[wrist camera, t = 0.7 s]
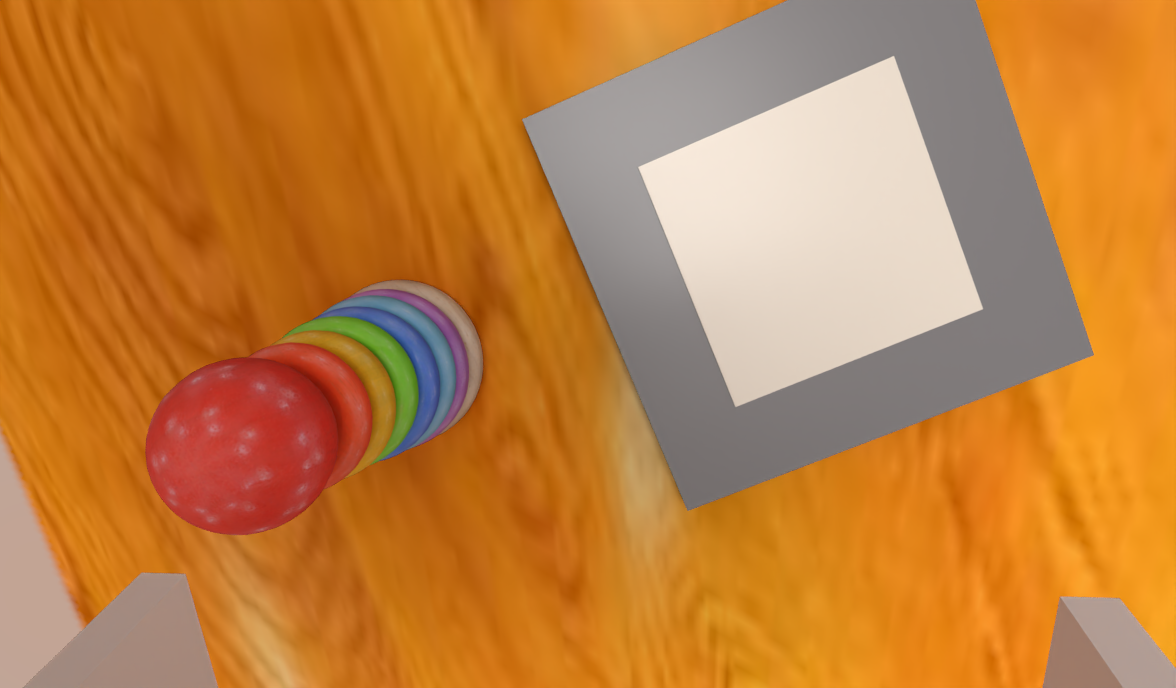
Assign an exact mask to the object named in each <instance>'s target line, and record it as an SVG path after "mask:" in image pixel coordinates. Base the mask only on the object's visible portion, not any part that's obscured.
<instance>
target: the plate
mask: <svg viewBox="0 0 1176 688" xmlns="http://www.w3.org/2000/svg"><path fill="white" fill-rule="evenodd" d="M522 120H523V123H524V125H525V128H526V130H527V132H528V135H529V137H530V139H531V142H532V144H533V146H534V149H535V151H536V154H537V156H538V158H539V161H540V163H541V165H542V168H543V170H544V172H545V175H546V177H547V180H548V182H549V184H550V187H551V189H552V191H553V194H554V196H555V198H556V201H557V203H558V206H559V208H560V210H561V213H562V215H563V217H564V220H565V222H566V224H567V227H568V229H569V232H570V234H571V236H572V239H573V241H574V243H575V246H576V248H577V250H578V253H579V255H580V258H581V260H582V262H583V265H584V267H585V269H586V272H587V274H588V276H589V279H590V281H591V284H592V286H593V288H594V291H595V293H596V295H597V298H598V300H599V302H600V305H601V307H602V310H603V312H604V314H605V317H606V319H607V321H608V324H609V326H610V328H611V331H612V333H613V336H614V338H615V340H616V343H617V345H618V347H619V350H620V352H621V354H622V357H623V359H624V362H625V364H626V366H627V369H628V371H629V373H630V376H631V378H632V380H633V383H634V385H635V388H636V390H637V392H638V395H639V397H640V399H641V402H642V404H643V406H644V409H645V411H646V414H647V416H648V418H649V421H650V423H651V425H652V428H653V430H654V432H655V435H656V437H657V440H658V442H659V444H660V447H661V449H662V451H663V454H664V456H665V458H666V461H667V463H668V466H669V468H670V470H671V473H672V475H673V477H674V480H675V482H676V484H677V487H678V489H679V492H680V494H681V496H682V499H683V501H684V503H685V506H686V508H687V510H688V511H689V510H691V509H694V508H697V507H699V506H702V505H704V504H707V503H710V502H712V501H715V500H717V499H720V498H723V497H725V496H728V495H730V494H733V493H736V492H738V491H741V490H743V489H746V488H749V487H751V486H754V485H756V484H759V483H762V482H764V481H767V480H770V479H772V478H775V477H777V476H780V475H783V474H785V473H788V472H790V471H793V470H796V469H798V468H801V467H803V466H806V465H809V464H811V463H814V462H816V461H819V460H822V459H824V458H827V457H829V456H832V455H835V454H837V453H840V452H842V451H845V450H848V449H850V448H853V447H856V446H858V445H861V444H863V443H866V442H869V441H871V440H874V439H876V438H879V437H882V436H884V435H887V434H889V433H892V432H895V431H897V430H900V429H902V428H905V427H908V426H910V425H913V424H915V423H918V422H921V421H923V420H926V419H929V418H931V417H934V416H936V415H939V414H942V413H944V412H947V411H949V410H952V409H955V408H957V407H960V406H962V405H965V404H968V403H970V402H973V401H975V400H978V399H981V398H983V397H986V396H988V395H991V394H994V393H996V392H999V391H1001V390H1004V389H1007V388H1009V387H1012V386H1015V385H1017V384H1020V383H1022V382H1025V381H1028V380H1030V379H1033V378H1035V377H1038V376H1041V375H1043V374H1046V373H1048V372H1051V371H1054V370H1056V369H1059V368H1061V367H1064V366H1067V365H1069V364H1072V363H1074V362H1077V361H1080V360H1082V359H1085V358H1088V357H1090V356H1093V355H1094V354H1093V351H1092V348H1091V345H1090V342H1089V339H1088V336H1087V333H1086V330H1085V327H1084V324H1083V321H1082V318H1081V315H1080V312H1079V309H1078V306H1077V303H1076V300H1075V297H1074V294H1073V291H1072V288H1071V285H1070V282H1069V279H1068V276H1067V273H1066V270H1065V267H1064V264H1063V261H1062V258H1061V255H1060V252H1059V249H1058V246H1057V243H1056V240H1055V237H1054V234H1053V231H1052V228H1051V225H1050V222H1049V219H1048V216H1047V213H1046V210H1045V207H1044V204H1043V201H1042V198H1041V195H1040V192H1039V189H1038V186H1037V183H1036V180H1035V177H1034V174H1033V171H1032V168H1031V165H1030V162H1029V159H1028V156H1027V153H1026V151H1025V148H1024V145H1023V142H1022V139H1021V136H1020V133H1019V130H1018V127H1017V124H1016V121H1015V118H1014V115H1013V112H1012V109H1011V106H1010V103H1009V100H1008V97H1007V94H1006V91H1005V88H1004V85H1003V82H1002V79H1001V76H1000V73H999V70H998V67H997V64H996V61H995V58H994V55H993V52H992V49H991V46H990V43H989V40H988V37H987V34H986V31H985V28H984V25H983V22H982V19H981V16H980V13H979V10H978V7H977V4H976V1H975V0H787V1H785V2H783V3H781V4H779V5H776V6H774V7H772V8H770V9H767V10H765V11H763V12H761V13H758V14H756V15H754V16H752V17H750V18H747V19H745V20H743V21H741V22H738V23H736V24H734V25H732V26H729V27H727V28H725V29H723V30H721V31H718V32H716V33H714V34H712V35H709V36H707V37H705V38H703V39H701V40H698V41H696V42H694V43H692V44H689V45H687V46H685V47H683V48H680V49H678V50H676V51H674V52H672V53H669V54H667V55H665V56H663V57H660V58H658V59H656V60H654V61H651V62H649V63H647V64H645V65H643V66H640V67H638V68H636V69H634V70H631V71H629V72H627V73H625V74H623V75H620V76H618V77H616V78H614V79H611V80H609V81H607V82H605V83H602V84H600V85H598V86H596V87H594V88H591V89H589V90H587V91H585V92H582V93H580V94H578V95H576V96H573V97H571V98H569V99H567V100H565V101H562V102H560V103H558V104H556V105H553V106H551V107H549V108H547V109H544V110H542V111H540V112H538V113H536V114H533V115H531V116H529V117H527V118H524V119H522Z"/></svg>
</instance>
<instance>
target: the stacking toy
mask: <svg viewBox="0 0 1176 688" xmlns="http://www.w3.org/2000/svg"><path fill="white" fill-rule="evenodd" d="M482 374H483V353H482V347H481V343H480V340H479V336H478V334H477V331H476V329H475V327H474V325H473V323H472V321H471V320H470V318H469V317H468V315H467V314H466V312H465V311H464V310H463V309H462V307H461V306H460V305H459V304H458V303H456V302H455V301H454V300H453V299H452V298H451V297H449V296H448V295H447V294H445V293H444V292H442V291H440V290H439V289H436V288H434V287H432V286H430V285H427V284H424V283H420V282H416V281H411V280H390V281H383V282H379V283H376V284H372V285H370V286H367V287H365V288H363V289H361V290H359V291H358V292H356V293H354V294H353V295H352V296H350V297H349V298H347V299H345V300H343V301H341V302H339V303H337V304H335V305H334V306H332V307H330V308H329V309H327V310H326V311H325V312H323V313H322V314H321V315H320V316H318V317H316V318H314V319H313V320H311V321H309V322H306V323H304V324H302V325H300V326H298V327H296V328H294V329H293V330H291V331H290V332H289V333H287V334H286V335H285V336H284V337H283V338H282V339H280V340H278V341H277V342H275V343H273V344H272V345H270V346H269V347H266V348H263V349H261V350H259V351H257V352H255V353H254V354H252V355H250V356H249V357H247V358H246V357H245V358H233V359H228V360H223V361H219V362H216V363H212V364H209V365H206V366H204V367H202V368H200V369H198V370H196V371H194V372H193V373H191V374H190V375H188V376H187V377H185V378H184V379H183V380H181V381H180V382H179V383H178V384H177V385H176V386H175V387H174V388H173V389H172V390H170V391H169V392H168V393H167V394H166V396H165V397H164V398H163V400H162V401H161V403H160V404H159V406H158V408H157V410H156V411H155V413H154V415H153V418H152V421H151V423H150V426H149V429H148V434H147V438H146V452H145V453H146V461H147V469H148V472H149V475H150V478H151V481H152V483H153V485H154V487H155V489H156V491H157V493H158V494H159V496H160V497H161V499H162V500H163V501H164V502H165V504H166V505H167V506H168V507H169V508H170V509H171V510H172V511H173V512H174V513H175V514H177V515H178V516H179V517H181V518H182V519H183V520H185V521H187V522H188V523H190V524H192V525H194V526H196V527H199V528H201V529H204V530H207V531H211V532H215V533H220V534H229V535H248V534H254V533H259V532H263V531H266V530H270V529H273V528H276V527H278V526H281V525H283V524H284V523H286V522H288V521H290V520H292V519H293V518H295V517H296V516H298V515H299V514H301V513H302V512H303V511H304V510H306V509H307V508H308V507H309V506H310V505H311V504H312V503H313V502H314V501H315V499H316V498H317V497H318V496H319V495H320V493H321V492H322V491H323V489H326V488H328V487H330V486H332V485H334V484H336V483H338V482H339V481H341V480H342V479H344V478H347V477H350V476H352V475H354V474H356V473H358V472H360V471H362V470H363V469H365V468H366V467H367V466H369V465H371V464H374V463H376V462H378V461H381V460H385V459H388V458H391V457H393V456H396V455H398V454H400V453H402V452H404V451H405V450H408V449H410V448H413V447H416V446H419V445H421V444H423V443H425V442H427V441H429V440H431V439H433V438H434V437H436V436H437V435H440V434H442V433H444V432H445V431H447V430H448V429H450V428H451V427H452V426H454V425H455V424H456V423H457V422H458V421H459V420H460V419H461V418H462V417H463V416H464V415H465V414H466V412H467V411H468V410H469V408H470V406H471V405H472V403H473V401H474V400H475V398H476V395H477V393H478V390H479V388H480V384H481V380H482Z"/></svg>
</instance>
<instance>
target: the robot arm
mask: <svg viewBox="0 0 1176 688" xmlns="http://www.w3.org/2000/svg"><path fill="white" fill-rule="evenodd" d="M23 688H218V686H217V682H216V679H215V675H214V672H213V668H212V665H211V661H210V658H209V654H208V651H207V647H206V644H205V640H204V637H203V633H202V630H201V626H200V623H199V619H198V616H197V612H196V609H195V606H194V602H193V599H192V595H191V592H190V588H189V585H188V581H187V578H186V574H169V573H141V574H140V575H139V576H138V577H137V578H136V579H135V580H134V581H133V582H131V583H130V584H129V585H128V586H127V587H126V588H125V589H124V590H123V591H122V592H121V593H120V594H119V595H118V596H117V597H116V598H115V599H114V600H113V601H112V602H111V603H110V604H109V605H108V606H107V607H106V608H105V609H104V610H103V611H101V612H100V613H99V614H98V615H97V616H96V617H95V618H94V619H93V620H92V621H91V622H90V623H89V624H88V625H87V626H86V627H85V628H84V629H83V630H82V631H81V632H80V633H79V634H78V635H77V636H76V637H75V638H74V639H73V640H72V641H70V642H69V643H68V644H67V646H65V647H64V648H63V649H62V650H61V651H60V652H59V653H58V654H57V655H56V656H55V657H54V658H53V659H52V660H51V661H50V662H49V663H48V664H47V665H46V666H45V667H44V668H43V669H42V670H41V671H39V672H38V673H37V675H35V676H34V677H33V678H32V679H31V680H30V681H29V682H28V683H27V684H26V685H25V686H24V687H23ZM1043 688H1176V668H1175V667H1174V666H1173V665H1172V663H1171V662H1170V661H1169V660H1168V658H1167V657H1166V656H1165V655H1164V653H1163V652H1162V651H1161V650H1160V648H1159V647H1158V646H1157V645H1156V643H1155V642H1154V641H1153V640H1152V638H1151V637H1150V636H1149V635H1148V633H1147V632H1146V631H1145V630H1144V628H1143V627H1142V626H1141V625H1140V623H1139V622H1138V621H1137V620H1136V618H1135V617H1134V616H1133V615H1132V613H1131V612H1130V611H1129V610H1128V608H1127V607H1126V606H1125V605H1124V603H1123V602H1122V601H1121V600H1120V598H1091V597H1060V600H1059V605H1058V610H1057V615H1056V621H1055V626H1054V631H1053V636H1052V642H1051V647H1050V652H1049V657H1048V663H1047V668H1046V673H1045V678H1044V683H1043Z"/></svg>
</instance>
